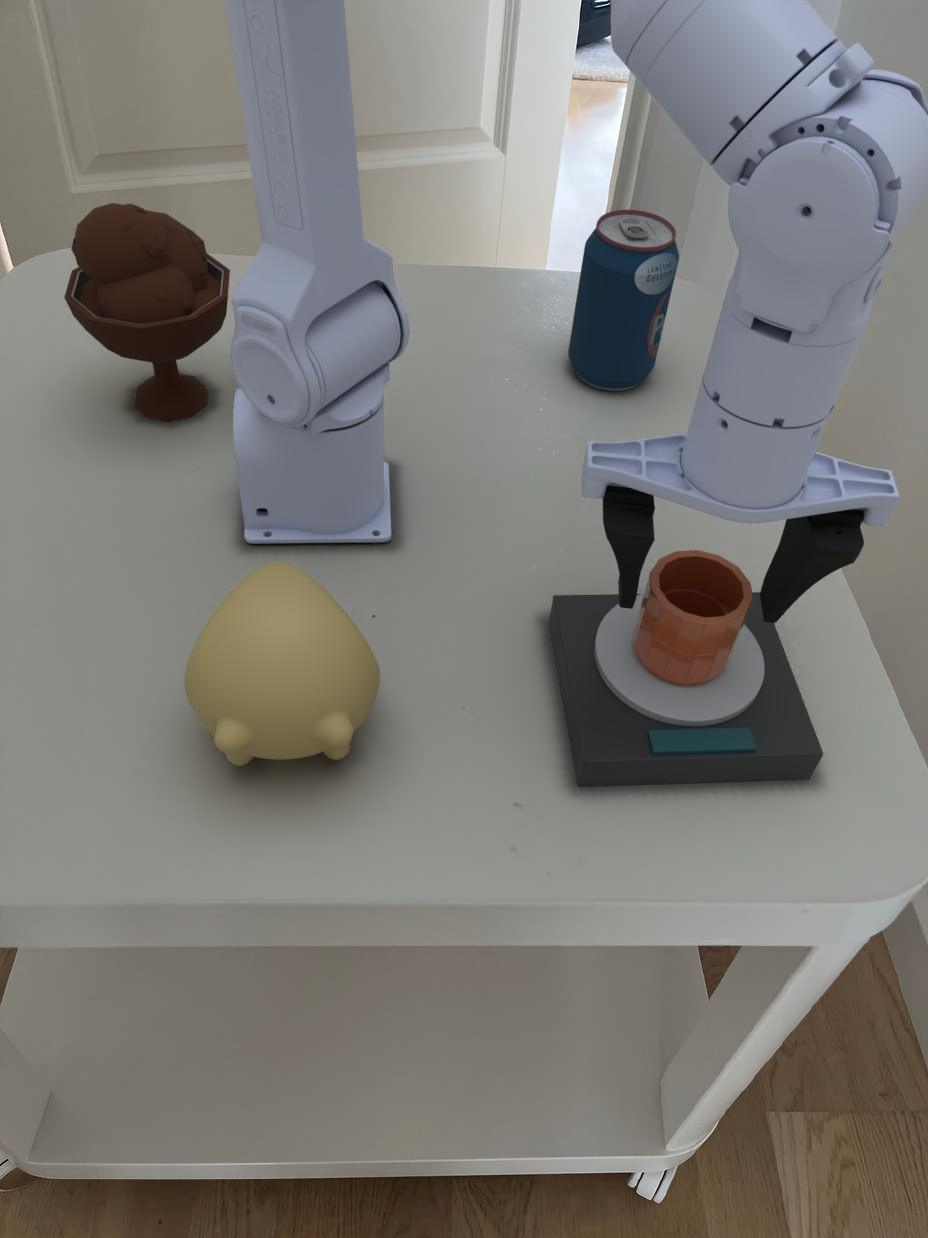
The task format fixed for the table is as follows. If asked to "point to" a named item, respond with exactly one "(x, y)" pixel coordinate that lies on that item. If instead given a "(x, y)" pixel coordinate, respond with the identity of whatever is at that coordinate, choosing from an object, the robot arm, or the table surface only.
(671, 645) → the terracotta cup
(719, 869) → the table surface
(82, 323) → the ice cream bowl
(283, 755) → the toy pig
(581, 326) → the soda can
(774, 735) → the scale
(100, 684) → the table surface
